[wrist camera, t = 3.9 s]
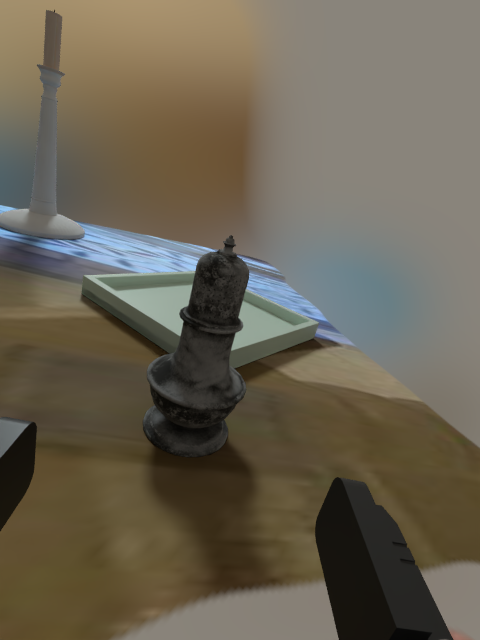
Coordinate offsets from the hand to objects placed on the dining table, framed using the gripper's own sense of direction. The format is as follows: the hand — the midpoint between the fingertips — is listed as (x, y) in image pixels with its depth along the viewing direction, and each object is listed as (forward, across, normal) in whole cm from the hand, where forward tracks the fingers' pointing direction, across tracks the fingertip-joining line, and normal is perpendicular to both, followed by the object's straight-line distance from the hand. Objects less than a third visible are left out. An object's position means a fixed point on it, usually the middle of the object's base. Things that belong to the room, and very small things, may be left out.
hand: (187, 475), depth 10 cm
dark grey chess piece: (+11, 0, -7) cm, 13 cm away
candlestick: (+54, -29, -7) cm, 62 cm away
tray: (+30, 0, -7) cm, 31 cm away
